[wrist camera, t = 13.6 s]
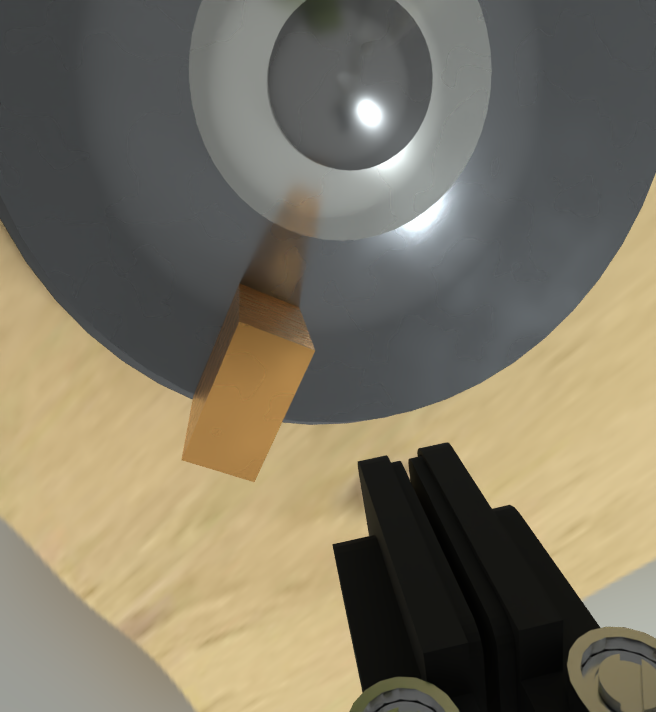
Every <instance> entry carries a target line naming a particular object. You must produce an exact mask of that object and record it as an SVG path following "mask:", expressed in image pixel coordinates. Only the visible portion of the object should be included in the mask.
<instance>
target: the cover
mask: <svg viewBox="0 0 656 712" xmlns="http://www.w3.org/2000/svg"><path fill="white" fill-rule="evenodd" d="M491 74H492V68H491V51H490V44H489V38H488V32H487V27H486V24H485V20H484V17H483V14H482V10H481V7H480V4H479V2H478V0H202V2H201V5H200V7H199V10H198V13H197V17H196V21H195V24H194V28H193V32H192V39H191V47H190V54H189V84H190V92H191V101H192V106H193V110H194V114H195V119H196V123H197V126H198V129H199V131H200V134H201V137H202V140H203V142H204V145H205V147H206V149H207V151H208V153H209V155H210V157H211V159H212V161H213V163H214V164H215V166H216V167H217V169H218V170H219V172H220V173H221V175H222V176H223V178H224V179H225V181H226V182H227V183H228V184H229V185H230V187H231V188H232V189H233V190H234V191H235V192H236V193H237V195H238V196H239V197H240V198H241V199H242V200H244V201H245V202H246V203H247V204H248V205H249V206H250V207H251V208H253V209H254V210H255V211H256V212H258V213H259V214H261V215H262V216H264V217H265V218H267V219H268V220H270V221H271V222H273V223H275V224H277V225H279V226H281V227H283V228H285V229H287V230H290V231H293V232H296V233H298V234H301V235H304V236H309V237H313V238H318V239H324V240H339V241H343V240H358V239H364V238H369V237H374V236H378V235H381V234H383V233H386V232H389V231H392V230H395V229H397V228H399V227H401V226H403V225H405V224H407V223H409V222H411V221H412V220H414V219H415V218H417V217H418V216H420V215H421V214H423V213H424V212H426V211H427V210H428V209H429V208H430V207H431V206H432V205H434V204H435V203H436V202H437V201H438V200H439V199H440V198H441V197H442V196H443V195H444V194H445V193H446V192H447V191H448V190H449V189H450V187H451V186H452V185H453V184H454V182H455V181H456V180H457V178H458V177H459V175H460V174H461V173H462V171H463V170H464V168H465V166H466V165H467V163H468V161H469V159H470V157H471V156H472V154H473V152H474V149H475V147H476V145H477V142H478V140H479V137H480V135H481V132H482V129H483V125H484V122H485V118H486V115H487V110H488V104H489V98H490V92H491Z"/></svg>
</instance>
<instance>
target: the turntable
mask: <svg viewBox="0 0 656 712" xmlns="http://www.w3.org/2000/svg"><path fill="white" fill-rule="evenodd" d="M201 2H202V0H0V196H1V198H2V200H3V202H4V204H5V206H6V208H7V210H8V212H9V214H10V216H11V218H12V220H13V222H14V223H15V225H16V227H17V229H18V231H19V233H20V235H21V237H22V238H23V240H24V241H25V243H26V244H27V246H28V247H29V249H30V250H31V252H32V253H33V255H34V256H35V258H36V259H37V261H38V262H39V264H40V265H41V267H42V268H43V270H44V271H45V273H46V274H47V276H48V277H49V279H50V280H51V281H52V282H53V283H54V284H55V286H56V287H57V288H58V289H59V290H60V291H61V293H62V294H63V295H64V296H65V297H66V298H67V300H68V301H69V302H70V303H71V304H72V305H73V307H74V308H75V309H76V310H77V311H78V313H79V314H80V315H81V316H83V317H84V318H85V319H86V320H87V321H88V322H89V323H90V324H91V325H92V326H93V327H95V328H96V329H97V330H98V331H99V332H100V333H101V334H102V335H103V336H104V337H105V338H106V339H108V340H109V341H110V342H111V343H112V344H113V345H114V346H116V347H117V348H119V349H120V350H121V351H123V352H124V353H125V354H127V355H128V356H130V357H131V358H132V359H134V360H135V361H137V362H138V363H139V364H141V365H142V366H144V367H145V368H146V369H148V370H149V371H151V372H153V373H155V374H156V375H158V376H160V377H162V378H164V379H166V380H167V381H169V382H171V383H173V384H175V385H176V386H178V387H180V388H182V389H184V390H185V391H188V392H190V393H193V394H194V396H193V401H192V406H191V412H190V417H189V423H188V428H187V433H186V439H185V444H184V450H183V455H182V460H183V461H187V462H190V463H193V464H196V465H200V466H203V467H206V468H210V469H213V470H216V471H220V472H223V473H226V474H230V475H233V476H236V477H239V478H243V479H246V480H249V481H253V482H255V480H256V477H257V475H258V473H259V471H260V469H261V467H262V464H263V462H264V460H265V458H266V456H267V454H268V452H269V449H270V447H271V445H272V443H273V441H274V439H275V436H276V434H277V432H278V430H279V428H280V426H281V423H282V421H283V419H285V420H292V421H299V422H348V421H358V420H369V419H377V418H381V417H386V416H391V415H395V414H400V413H405V412H409V411H413V410H416V409H419V408H422V407H425V406H428V405H431V404H434V403H437V402H440V401H442V400H445V399H448V398H450V397H452V396H454V395H456V394H458V393H461V392H463V391H465V390H467V389H469V388H471V387H473V386H475V385H478V384H480V383H482V382H483V381H485V380H486V379H488V378H490V377H491V376H493V375H495V374H496V373H498V372H499V371H501V370H503V369H504V368H506V367H507V366H509V365H511V364H512V363H514V362H515V361H516V360H518V359H519V358H520V357H522V356H523V355H524V354H525V353H527V352H528V351H529V350H530V349H532V348H533V347H534V346H536V345H537V344H538V343H539V342H541V341H542V340H543V339H544V338H545V337H547V336H548V335H549V334H550V333H551V332H552V331H553V330H554V329H555V328H556V327H557V326H558V325H559V324H560V323H561V322H562V321H563V320H564V319H565V318H566V317H567V316H568V315H569V314H570V313H571V312H572V311H573V310H574V309H575V308H576V306H577V305H578V304H579V303H580V302H581V300H582V299H583V298H584V297H585V296H586V294H587V293H588V292H589V291H590V290H591V288H592V287H593V286H594V285H595V284H596V282H597V281H598V280H599V279H600V277H601V276H602V274H603V273H604V271H605V270H606V268H607V267H608V265H609V264H610V262H611V261H612V259H613V258H614V256H615V255H616V253H617V252H618V250H619V249H620V247H621V246H622V244H623V242H624V240H625V238H626V236H627V234H628V233H629V231H630V229H631V227H632V225H633V223H634V221H635V219H636V217H637V215H638V213H639V212H640V210H641V208H642V206H643V203H644V201H645V198H646V196H647V193H648V191H649V188H650V186H651V183H652V181H653V178H654V176H655V173H656V0H478V2H479V4H480V7H481V10H482V14H483V17H484V20H485V24H486V27H487V32H488V38H489V44H490V51H491V68H492V74H491V92H490V98H489V104H488V110H487V115H486V118H485V122H484V125H483V129H482V132H481V135H480V137H479V140H478V142H477V145H476V147H475V149H474V152H473V154H472V156H471V157H470V159H469V161H468V163H467V165H466V166H465V168H464V170H463V171H462V173H461V174H460V175H459V177H458V178H457V180H456V181H455V182H454V184H453V185H452V186H451V187H450V189H449V190H448V191H447V192H446V193H445V194H444V195H443V196H442V197H441V198H440V199H439V200H438V201H437V202H436V203H435V204H434V205H432V206H431V207H430V208H429V209H428V210H427V211H426V212H424V213H423V214H421V215H420V216H418V217H417V218H415V219H414V220H412V221H411V222H409V223H407V224H405V225H403V226H401V227H399V228H397V229H395V230H392V231H389V232H386V233H383V234H381V235H378V236H374V237H369V238H364V239H358V240H343V241H339V240H324V239H318V238H313V237H309V236H304V235H301V234H298V233H296V232H293V231H290V230H287V229H285V228H283V227H281V226H279V225H277V224H275V223H273V222H271V221H270V220H268V219H267V218H265V217H264V216H262V215H261V214H259V213H258V212H256V211H255V210H254V209H253V208H251V207H250V206H249V205H248V204H247V203H246V202H245V201H244V200H242V199H241V198H240V197H239V196H238V195H237V193H236V192H235V191H234V190H233V189H232V188H231V187H230V185H229V184H228V183H227V182H226V181H225V179H224V178H223V176H222V175H221V173H220V172H219V170H218V169H217V167H216V166H215V164H214V163H213V161H212V159H211V157H210V155H209V153H208V151H207V149H206V147H205V145H204V142H203V140H202V137H201V134H200V131H199V129H198V126H197V123H196V119H195V114H194V110H193V106H192V101H191V92H190V84H189V54H190V47H191V39H192V32H193V28H194V24H195V21H196V17H197V13H198V10H199V7H200V5H201Z"/></svg>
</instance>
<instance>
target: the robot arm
mask: <svg viewBox="0 0 656 712" xmlns="http://www.w3.org/2000/svg"><path fill="white" fill-rule="evenodd" d="M417 454H418V457H415V458H411V459H409V472H410V479H409V477H408V475H407V473H406V471H405V469H404V466H403V464H402V462H401V461H397V462H392V463H391V462H390V460H389V458H388V456H387V455H386V456H381V457H377V458H372V459H367V460H363V461H358V470H359V477H360V483H361V489H362V495H363V501H364V507H365V513H366V519H367V525H368V532H369V536H368V537H364V538H359V539H355V540H350V541H346V542H341V543H337V544H333V550H334V555H335V560H336V565H337V570H338V575H339V580H340V585H341V590H342V595H343V600H344V605H345V610H346V615H347V620H348V624H349V629H350V634H351V639H352V644H353V649H354V653H355V658H356V663H357V668H358V673H359V678H360V682H361V687H362V692H363V693H362V694H361V695H360V697H359V698H358V699H357V700H356V701H355V702H354V703H353V705H352V708H351V710H350V712H656V638H654V637H652V636H650V635H648V634H646V633H644V632H640V631H636V630H633V629H629V628H625V627H603V628H600V626H599V625H598V624H597V622H596V621H595V619H594V618H593V617H592V615H591V614H590V612H589V611H588V610H587V608H586V607H585V605H584V604H583V602H582V601H581V599H580V598H579V597H578V595H577V594H576V592H575V591H574V590H573V588H572V587H571V585H570V584H569V583H568V581H567V580H566V578H565V577H564V575H563V574H562V573H561V571H560V570H559V568H558V567H557V566H556V564H555V563H554V561H553V560H552V558H551V557H550V556H549V554H548V553H547V551H546V550H545V549H544V547H543V546H542V544H541V543H540V541H539V540H538V539H537V537H536V536H535V534H534V533H533V532H532V530H531V529H530V527H529V526H528V524H527V523H526V522H525V520H524V519H523V517H522V516H521V515H520V513H519V512H518V511H517V510H516V509H515V507H513V506H511V505H507V506H503V507H498V508H494V509H492V508H491V507H490V505H489V504H488V502H487V501H486V499H485V498H484V496H483V494H482V493H481V491H480V490H479V488H478V487H477V485H476V483H475V482H474V480H473V479H472V477H471V476H470V474H469V473H468V471H467V469H466V468H465V466H464V465H463V463H462V462H461V460H460V459H459V457H458V455H457V454H456V452H455V451H454V449H453V448H452V446H451V445H450V444H449V443H442V444H438V445H433V446H428V447H423V448H419V449H418V453H417ZM410 481H411V482H410Z"/></svg>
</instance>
